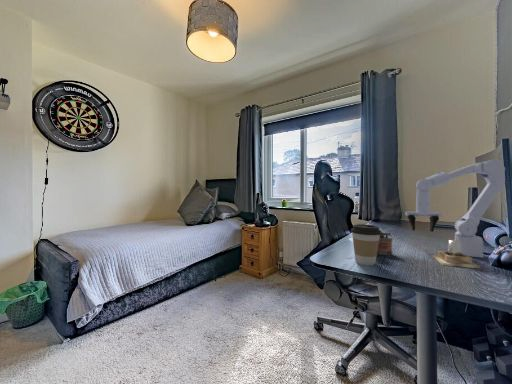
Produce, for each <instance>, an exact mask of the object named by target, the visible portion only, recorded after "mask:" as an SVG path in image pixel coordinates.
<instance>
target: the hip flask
mask: <svg viewBox="0 0 512 384" xmlns="http://www.w3.org/2000/svg"><path fill="white" fill-rule="evenodd" d="M391 235H392V233H391V232H383V231H381V235H380V238H379V244H378V252H377V255H386V256H391V255H393V250H392V249H393V237H391ZM389 236H390V237H389Z"/></svg>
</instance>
